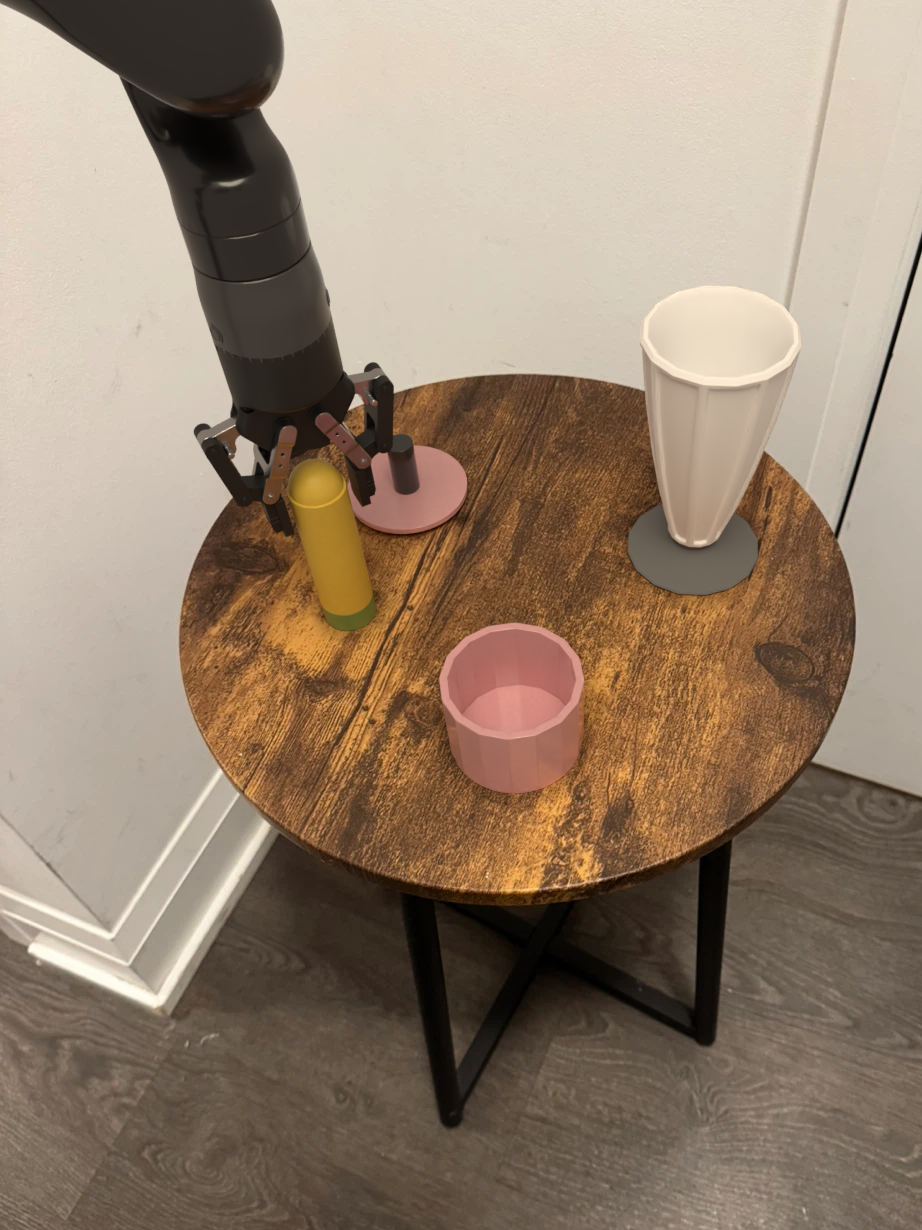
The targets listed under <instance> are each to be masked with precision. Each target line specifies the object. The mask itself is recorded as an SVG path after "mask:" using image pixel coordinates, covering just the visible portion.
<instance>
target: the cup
mask: <svg viewBox="0 0 922 1230" xmlns="http://www.w3.org/2000/svg"><path fill="white" fill-rule="evenodd" d="M639 334H640V335H639V346H640V347H641V349H642V350H641V353H642V369H643V370H642V371H643V386H644V399H645V409H646V416H647V424H648V425H647V426H648V431H649V440H650V448H651V454H652V455H651V456H652V460H653V466H654V471H655V476H656V481H657V488H658V493H659V496H660V500H661V504H660V503H659V504H657V505H656V506H654V507H652V508H651V509H649V510H648V511H646V512H644V513H642V514H641V515H640V516H639V517H637V519H636V521H635V523H634V524H633V526H632V527H631V528H630V530H629V531H628V534H627V535H628V536H627V549H626V550H627V554H628V557H629V558H630V561H631V563H632V565H633V568H634V569H635V571H636V572H638V573H639V574H640V575H641V576H642V577H644V578H645V580H647V581H648V582H650V583H651V584H652V585H653V586H655V587H658V588H661V589H663V590H665V591H668V592H671V593H675V594H677V595H685V596H686V595H687V596H709V595H712V594H716V593H720V592H724V591H728V590H730V589H732V588H734V587H736V586H737V584H739V583H740V582H742V581H743V580H745V579H746V578H748V577H749V576H750V574H751V572H752V570H753V568H754V567H755V565H756V563H757V562H758V559H759V541H758V538H757V536H756V534H755V533H754V530H753V529H752V528H751V526H750V524H749V522H748V521H747V520H746V519H744V518H743V517H741V516H740V515H739V514H738V513H736V510H737V509H738V508H739V505H740V503H741V501H742V499H743V497H744V495H745V493H746V491H747V490H748V487H749V485H750V483H751V481H752V479H753V477H754V475H755V473H756V471H757V469H758V466H759V463H760V462H761V460H762V457H763V454H764V452H765V449H766V447H767V445H768V442H769V440H770V438H771V435H772V432H773V430H774V427H775V425H776V424H777V420H778V417H779V415H780V412H781V409H782V406H783V404H784V400H785V398H786V395H787V392H788V389H789V387H790V384H791V381H792V379H793V374H794V371H795V368H796V365H797V362H798V360H799V356H800V353H801V350H802V337H801V335H802V334H801V327H800V326H799V324H798V323H797V321H796V320H795V319H794V317H793V316H792V315H791V314H790V312H789V311H788V310H787V308H786V307H785V306H784V305H782V304H781V303H779V302H777V301H776V300H774V299H773V298H770V297H769V296H767V295H766V294H765V293H760V292H758V291H753V290H750V289H746V288H743V287H739V286H733V285H702V286H697V287H693V288H687V289H684V290H679V291H677V292H674V293H673V294H670V295H669V296H666V297H665V298H664V299H662V300H660V301H658V302H656V303H655V304H654V305H653V307H652V308H651V309H650V310H649V312H647V314H646V316H645V317H644V318H643V319H642V320H641V322H640V333H639Z"/></svg>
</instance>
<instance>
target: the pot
mask: <svg viewBox="0 0 922 1230" xmlns="http://www.w3.org/2000/svg"><path fill="white" fill-rule="evenodd" d="M438 682H439V690H440V691H439V692H440V698H441V704H442V710H443V715H444V720H445V721H444V722H445V725H446V732H447V737H448V742H449V747H450V753H451V755H452V756H453V760H454V761H455V763H456V765H457V766H458V768H459V769H460V770H461V772H462V773H463V774H464V775H465V776H466V777H467V778H468V779H470V780H471V781H472V782H474V784H475V783H476V784H477V785H479V786H481V787H483V788H485V789H487V790H490V791H495V792H498V793H502V794H526V793H527V794H528V793H531V792H536V791H539V790H541V789H544V788H547V787H550V786H551V785H552V784H555V783H556V782H557V781H559V780H560V779H561V778H563V777H564V776H565V775H566V774H567V773H568V772H569V771H570V770H571V769H572V767H573V766H574V765H575V763H576V761H577V759H578V758H579V755H580V753H581V750H582V746H583V739H584V736H585V675H584V672H583V667H582V663H581V658H580V657H579V655H578V654H577V653H576V652H575V650H574V649H573V648H572V647H571V645H570V644H569V643H568V642H567V641H566V639H564V638H563V637H561V636H559V634H558V635H557V634H555V633H554V632H552V631H551V630H549V629H547V628H545V627H544V626H539V625H533V624H528V623H522V622H509V623H508V622H507V623H501V624H494V625H493V624H492V625H488V626H485V627H483V628H482V629H479V630H477V631H475V632H473V633H471V634H469V635H467V636H465V637H464V638H462V640H461V641H460V642H459V643H458V644H456V646H455V647H454V648H452V650H451V651H450V652H449V653H448V654H447V655H446V657H445V660H444V662H443V665H442V668H441V671H440V674H439V676H438Z"/></svg>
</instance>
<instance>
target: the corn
mask: <svg viewBox="0 0 922 1230" xmlns="http://www.w3.org/2000/svg"><path fill="white" fill-rule="evenodd" d="M288 477H289V478H288V483H287V486H286V490H285V491H286V492H285V493H286V496H287V500H288V503H289V507H290V509H291V512H292V517H293V519H294V522H295V526H296V528H297V531H298V532H297V533H298V534H299V539H300V541H301V545H302V549H303V552H304V555H305V558H306V562H307V563H308V567H309V571H310V574H311V577H312V580H313V583H314V584H313V585H314V587H315V590H316V593H317V596H318V600H319V604H320V606H321V609H322V613H323V616H324V619H325V621H326V622H327V624H328V625H329V626H330V627H332V628H333V629H335V630H338V631H342V632H351V631H356V630H357V631H358V630H360V629H362V628H364V627H366V626H367V625H368V624H370V623H371V622H372V621H373V619H374V618H375V617H376V612H377V603H376V599H375V595H374V591H373V587H372V583H371V578H370V575H369V570H368V566H367V562H366V558H365V557H366V556H365V554H364V550H363V545H362V541H361V537H360V532H359V529H358V525H357V521H356V516H355V515H354V512H353V508H352V504H351V500H350V496H349V491H348V487H347V485H348V482H347V480H346V477H345V476H344V475H343V473H342V472H340V471H339V470H338V469H337V467H336V466H335V465H333V463H330V462H329V461H328V460H324V459H321V458H309V459H305V460H303V461H301V462H299V463H298V464H297V465H296V466H295V467H294V468H293V469H292V471H291V472H290V474H289V476H288Z"/></svg>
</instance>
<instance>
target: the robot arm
mask: <svg viewBox="0 0 922 1230" xmlns="http://www.w3.org/2000/svg"><path fill="white" fill-rule="evenodd" d="M0 5H2V6H5V7H7V8H9V9H11V10H12V11H15V12H16V13H19V14H21V15H23V16H25V17H27V18H29V19H31V20H32V21H34V22H36V23H37V24H40V25H41V26H42V27H44V28H46V29H47V30H49V31H51V32H52V33H53V34H55V35H56V36H58V37H60V38H61V39H62V40H64V41H66V42H67V43H68V44H70V45H71V46H73V48H74V47H75V48H76V49H77V50H79V51H81V52H82V53H83V54H85V55H86V56H88V57H90V58H91V59H92V60H94V61H96V62H97V63H99V64H101V65H102V66H104V67H105V68H106V69H109V70H110V71H111V72H112V73H114V74H116V75H117V76H118V77H119V80H120V82H121V84H122V86H123V89H124V91H125V93H126V95H127V97H128V100H129V103H130V104H131V106H132V109H133V111H134V113H135V115H136V117H137V119H138V123H139V124H140V126H141V128H142V130H143V132H144V134H145V136H146V138H147V141H148V143H149V144H150V146H151V149H152V151H153V153H154V155H155V157H156V159H157V161H158V164H159V166H160V169H161V171H162V173H163V176H164V179H165V181H166V185H167V187H168V190H169V194H170V199H171V203H172V206H173V210H174V214H175V217H176V220H177V223H178V227H179V229H180V232H181V236H182V237H183V241H184V244H185V247H186V250H187V253H188V256H189V259H190V262H191V266H192V270H193V275H194V280H195V281H194V282H195V287H196V292H197V297H198V300H199V302H200V306H201V309H202V312H203V316H204V318H205V321H206V324H207V327H208V331H209V333H210V336H211V339H212V342H213V345H214V348H215V351H216V354H217V357H218V360H219V363H220V367H221V369H222V372H223V375H224V377H225V381H226V384H227V387H228V390H229V392H230V396H231V401H232V403H231V408H230V413H229V418H227V419H225V420H223V421H221V422H219V423H218V424H216V425H214V426H211V425H210V424H208V423H205V422H204V423H203V422H201V423H198V424H196V426H195V427H194V428H193V435H194V438H195V439H196V440H197V443H198V445H199V446H200V448H201V450H202V452H203V454H204V456H205V457H206V458H207V459H206V460H208V462H209V463H210V465H211V466H212V468H213V469H214V471H215V472H216V475H218V477H219V479H220V480H221V481H222V483H223V484H224V486H225V488H226V490H227V491H228V492H229V494H230V495H231V497H232V498H233V500H234V502H235V503H236V505H237V506H238V507H240V508H247V507H249V506H251V505H252V504H253V502H260V503H261V507H262V510H263V512H264V516H265V519H266V521H267V522H268V523H269V526H270V527H271V529H272V531H274V533H276V534H280V533H283V536H284V537H285V538H289V537H291V536H293V535H296V534H295V533H296V532H295V529H294V526H293V523H292V519H291V517H290V513H289V511H288V507H287V504H286V501H285V498H284V497H283V495H282V494H281V491H282V487H283V486H282V485H283V480H284V479H286V478H287V477H288V473H289V468H290V462H291V460H293V459H295V458H299V457H301V456H302V455H303V454H305V453H307V452H308V451H310V450H317V449H322V448H324V447H328V446H330V445H331V442H332V443H333V444H334V445H335V446H336V447H337V449H338V450H339V451H340V452H341V453H342V454H343V459H344V463H345V468H346V471H347V476H348V481H349V480H350V484H351V488H352V491H353V493H354V495H355V497H356V498H357V500H358V501H359V503H360V505H361V506H362V507H364V506H367V505H369V504H371V500H370V497H371V496H373V495H375V491H376V487H375V482H374V477H373V473H372V468H371V462H372V459H373V457H374V456H375V455H377V454H378V453H379V452H380V453H383V454H384V453H387V452H389V451H390V450H391V449H392V447H393V435H394V406H395V405H394V402H395V401H394V400H395V386H394V383H393V382H392V381H391V379H390V378H389V376H388V375H387V374H386V372H385V371H384V370H383V368H382V367H381V366H380V364H378V362H375V361H372V362H369V363H367V364H366V365H365V366H364V369H363V372H359V373H353V374H347V372H346V371H345V370H344V365H343V362H342V356H341V351H340V347H339V343H338V338H337V333H336V329H335V323H334V319H333V315H332V312H331V311H332V310H331V297H330V293H329V289H328V288H327V286H326V283H325V278H324V275H323V272H322V269H321V265H320V262H319V260H318V257H317V255H316V252H315V249H314V247H313V244H312V240H311V236H310V232H309V228H308V223H307V219H306V215H305V210H304V207H303V206H304V205H303V200H302V197H301V192H300V187H299V183H298V179H297V176H296V172H295V169H294V166H293V164H292V162H291V160H290V157H289V155H288V152H287V150H286V149H285V147H284V145H283V143H282V142H281V141H280V139H279V138H278V137H277V135H276V134H275V133H274V131H273V129H272V127H270V125H269V124H268V122H267V120H266V118H265V116H264V114H263V111H262V109H261V107H262V106H263V105H265V103H267V101H268V100H269V99H270V98H271V97H272V95H273V93H274V92H275V91H276V89H277V87H278V84H279V82H280V79H281V77H282V73H283V69H284V63H285V40H284V39H285V38H284V32H283V27H282V24H281V21H280V17H279V14H278V12H277V9H276V7H275V5H274V3H273V1H272V0H0ZM356 395H358V397H359V398H360V399H361V401H362V403H363V431H361V433H360V434H358V435H356V434H355V433H354V432H353V431H352V430H351V429H350V428H349V427H348V425H346V423H345V422H344V421H345V418H346V416H347V413H348V412H349V410H350V407H351V405H352V403H353V401H354V398H355V396H356ZM239 437H242V438H244V439H245V440H248V441H249V442H251V443H252V444H253V445H252V446H253V448H252V451H253V457H254V458H253V459H254V460H253V465H252V472H251V474H249V475H248V474H247V475H241V473H240V471H239V469H237V466H236V465H235V463H234V462H233V459H235V458H236V452H237V445H236V441H237V439H238V438H239Z"/></svg>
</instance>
